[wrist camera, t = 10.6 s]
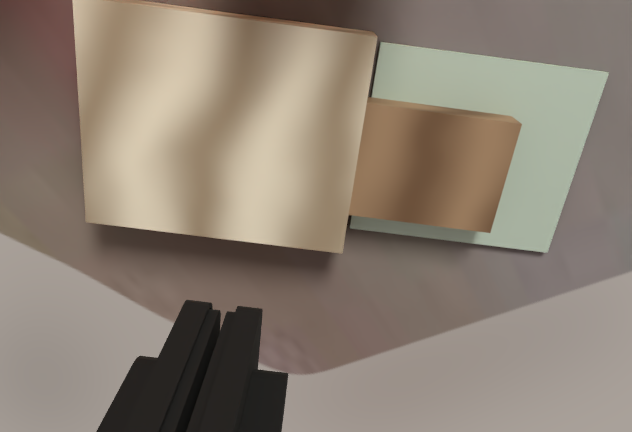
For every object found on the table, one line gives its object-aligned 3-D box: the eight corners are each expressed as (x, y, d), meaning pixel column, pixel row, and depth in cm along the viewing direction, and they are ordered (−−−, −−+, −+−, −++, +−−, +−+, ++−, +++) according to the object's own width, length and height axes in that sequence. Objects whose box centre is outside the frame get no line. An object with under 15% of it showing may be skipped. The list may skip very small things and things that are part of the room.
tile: (511, 115, 32) (522, 124, 30) (482, 219, 35) (490, 233, 33) (364, 96, 32) (366, 103, 30) (347, 202, 35) (348, 214, 33)
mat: (605, 71, 31) (608, 72, 31) (545, 249, 36) (547, 252, 36) (380, 41, 31) (380, 42, 31) (349, 225, 36) (349, 228, 35)
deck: (373, 31, 31) (377, 37, 28) (341, 231, 36) (342, 253, 33) (97, -6, 30) (72, -4, 27) (106, 202, 36) (85, 222, 33)
